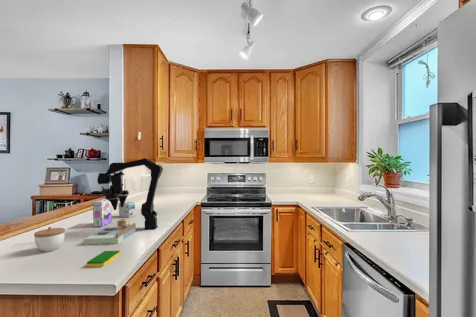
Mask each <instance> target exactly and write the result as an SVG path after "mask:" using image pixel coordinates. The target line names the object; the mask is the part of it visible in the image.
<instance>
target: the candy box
mask: <svg viewBox="0 0 476 317" xmlns="http://www.w3.org/2000/svg"><path fill="white" fill-rule="evenodd" d="M92 216H93V218H92V220H93V228H103V227H105V226H107V225H109V224H111V223H112V219H113V218H112V204H111V202H110V201H108V200H107V199H106V198H105V199H104V198H102V199H100V200H96V201H92Z"/></svg>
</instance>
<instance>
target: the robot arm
mask: <svg viewBox="0 0 476 317" xmlns="http://www.w3.org/2000/svg"><path fill="white" fill-rule="evenodd" d="M139 166H141V167H142V166H145V167H146V168H147V169H149V170H150V182H149V183H150V184H149V187H148V192H147V196H146V199H145V200H146V201H145V202H144V203H141V208H140V214H141V215H142V217H144V218H143V219H144V230H156V229H157V228H158V227H159V226H158V218H157V216H158V213H157V211H155V210H154V208H155V205H154V199H155V196H156V192H157V187H158V184H159V183H158V182H159V179H160V178H161V176H162V173H163V171H164V169H163V168H164V167H163V165H160V164H156V163H155V162H153V161H151V160H150V159H149V158H142V159H136V160H131V161H127V162H112V163H109V166H108V169H107V171H106V173H105V172H103V173H102V172H100V173H98V175H97V184H98V185H109V184H111V185H110V186H109V188H103V189H101V195H103V196H104V198H105V199H107V200H108V201H110V202H111V207H112V208H113V210H114V211H116V210H117V208H118V205H119V203H120V205H121V207H123V206H124V203H125V202H126V200H127V198H128V195H130V192H129V191H128V190H127V189H125V190H123V186H124V184H123V183H122V181H123V180H122V176H124V175H126V174H125V173H124V172H123V171H124V170H126V169H130V168H135V167H139Z"/></svg>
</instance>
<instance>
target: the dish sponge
mask: <svg viewBox="0 0 476 317" xmlns="http://www.w3.org/2000/svg"><path fill="white" fill-rule="evenodd" d="M119 256H120V250H104V251H102V252H101V253H99V254H97V255H96V256H95V257H93V258H91V259H90V260H88V261H86V267H87V268H103V266H104V267H106V266H107V265H109V262H110V263H111V262H112V261H113V260H115V259H116V258H118V257H119Z"/></svg>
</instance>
